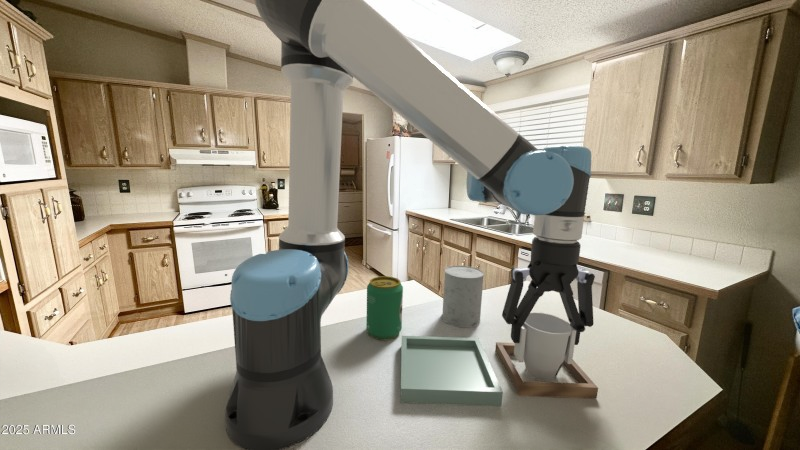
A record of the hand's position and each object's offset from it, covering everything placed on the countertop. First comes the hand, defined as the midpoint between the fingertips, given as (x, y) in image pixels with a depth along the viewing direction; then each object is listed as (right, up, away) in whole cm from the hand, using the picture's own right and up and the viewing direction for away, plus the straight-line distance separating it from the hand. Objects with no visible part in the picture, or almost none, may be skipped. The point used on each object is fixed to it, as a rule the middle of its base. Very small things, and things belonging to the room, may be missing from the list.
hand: (542, 358), depth 58 cm
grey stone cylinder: (-11, +1, +21) cm, 24 cm away
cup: (0, -3, 0) cm, 3 cm away
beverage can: (-30, 0, +13) cm, 33 cm away
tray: (-18, -2, 0) cm, 18 cm away
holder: (0, -3, 0) cm, 3 cm away
